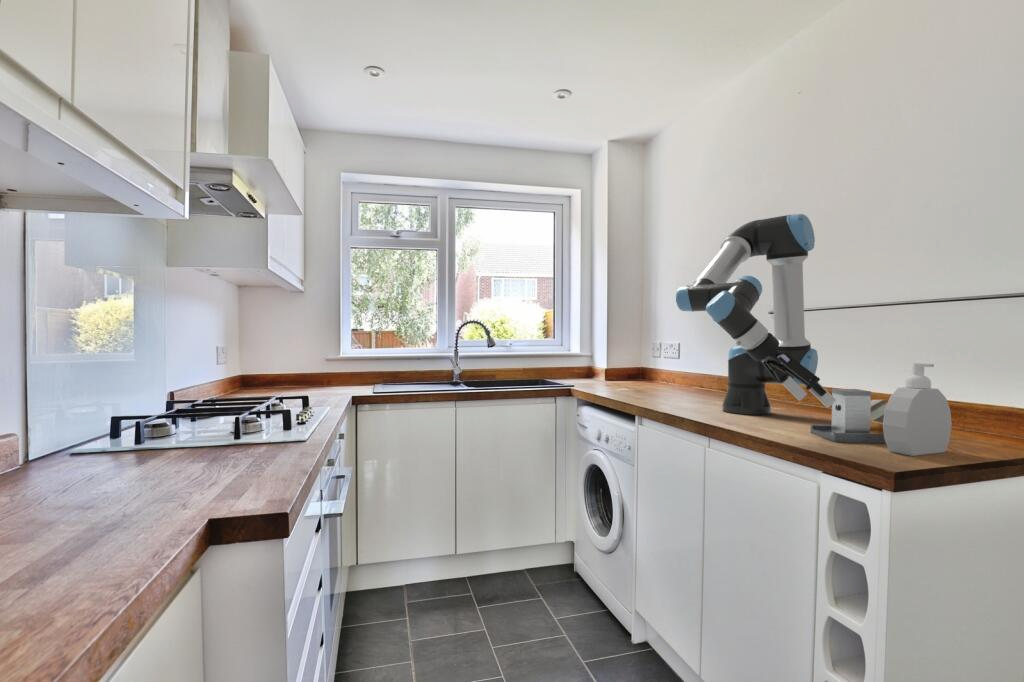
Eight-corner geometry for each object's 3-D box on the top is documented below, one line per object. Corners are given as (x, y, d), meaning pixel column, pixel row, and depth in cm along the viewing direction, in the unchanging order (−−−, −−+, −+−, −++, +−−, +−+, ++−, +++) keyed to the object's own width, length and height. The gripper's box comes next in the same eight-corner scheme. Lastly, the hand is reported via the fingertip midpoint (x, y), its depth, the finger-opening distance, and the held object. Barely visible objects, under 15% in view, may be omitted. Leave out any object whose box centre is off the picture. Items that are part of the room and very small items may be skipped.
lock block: (830, 430, 131) (830, 388, 131) (855, 431, 130) (856, 388, 130) (843, 435, 125) (844, 390, 124) (870, 435, 124) (871, 391, 124)
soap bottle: (908, 457, 106) (909, 364, 106) (881, 452, 111) (883, 363, 111) (953, 452, 112) (955, 363, 112) (926, 447, 117) (928, 362, 117)
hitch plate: (810, 432, 134) (810, 417, 134) (865, 434, 132) (866, 418, 132) (835, 442, 122) (835, 424, 122) (896, 443, 120) (896, 426, 120)
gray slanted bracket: (890, 448, 135) (927, 411, 136) (866, 423, 136) (904, 387, 137) (849, 445, 151) (883, 412, 152) (829, 423, 152) (862, 390, 153)
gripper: (729, 350, 142) (783, 404, 140) (767, 352, 117) (833, 418, 116) (748, 331, 141) (803, 385, 140) (791, 330, 116) (857, 395, 115)
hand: (816, 400), depth 128 cm, fingers open, 13 cm apart
